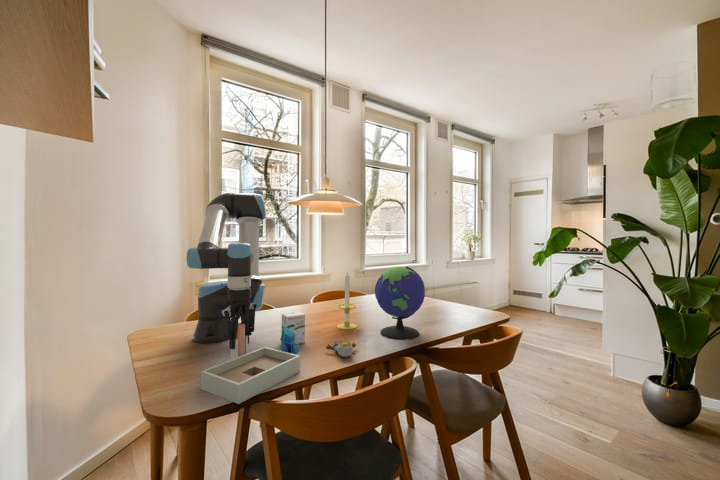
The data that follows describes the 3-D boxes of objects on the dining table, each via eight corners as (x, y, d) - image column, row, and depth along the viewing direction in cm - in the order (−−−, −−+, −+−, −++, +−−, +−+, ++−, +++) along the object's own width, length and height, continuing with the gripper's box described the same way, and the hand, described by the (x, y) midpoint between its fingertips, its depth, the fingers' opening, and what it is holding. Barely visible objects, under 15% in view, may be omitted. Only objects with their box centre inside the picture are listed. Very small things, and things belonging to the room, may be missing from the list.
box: (200, 389, 92) (200, 371, 92) (264, 361, 113) (264, 346, 113) (238, 404, 84) (238, 384, 84) (300, 371, 105) (300, 355, 105)
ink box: (285, 346, 128) (285, 316, 128) (280, 342, 133) (281, 313, 132) (305, 342, 133) (305, 313, 133) (300, 339, 137) (300, 311, 137)
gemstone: (276, 364, 111) (276, 328, 111) (281, 354, 119) (281, 322, 119) (298, 363, 111) (298, 328, 111) (301, 354, 120) (302, 321, 120)
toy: (352, 335, 131) (363, 342, 117) (352, 349, 131) (363, 357, 117) (322, 337, 128) (330, 344, 114) (322, 351, 127) (330, 360, 113)
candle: (357, 329, 152) (357, 271, 151) (335, 329, 152) (335, 271, 151) (357, 323, 161) (357, 269, 161) (337, 323, 162) (337, 269, 161)
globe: (385, 324, 161) (385, 263, 160) (430, 330, 151) (430, 265, 151) (366, 337, 141) (366, 267, 140) (416, 344, 131) (417, 270, 131)
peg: (231, 362, 112) (231, 324, 112) (240, 359, 115) (240, 322, 115) (238, 364, 110) (238, 326, 110) (247, 361, 113) (247, 323, 113)
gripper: (225, 292, 103) (226, 366, 103) (265, 285, 117) (265, 350, 118) (210, 290, 107) (211, 361, 107) (251, 284, 121) (251, 346, 121)
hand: (239, 355), depth 112 cm, fingers closed on peg, 3 cm apart
